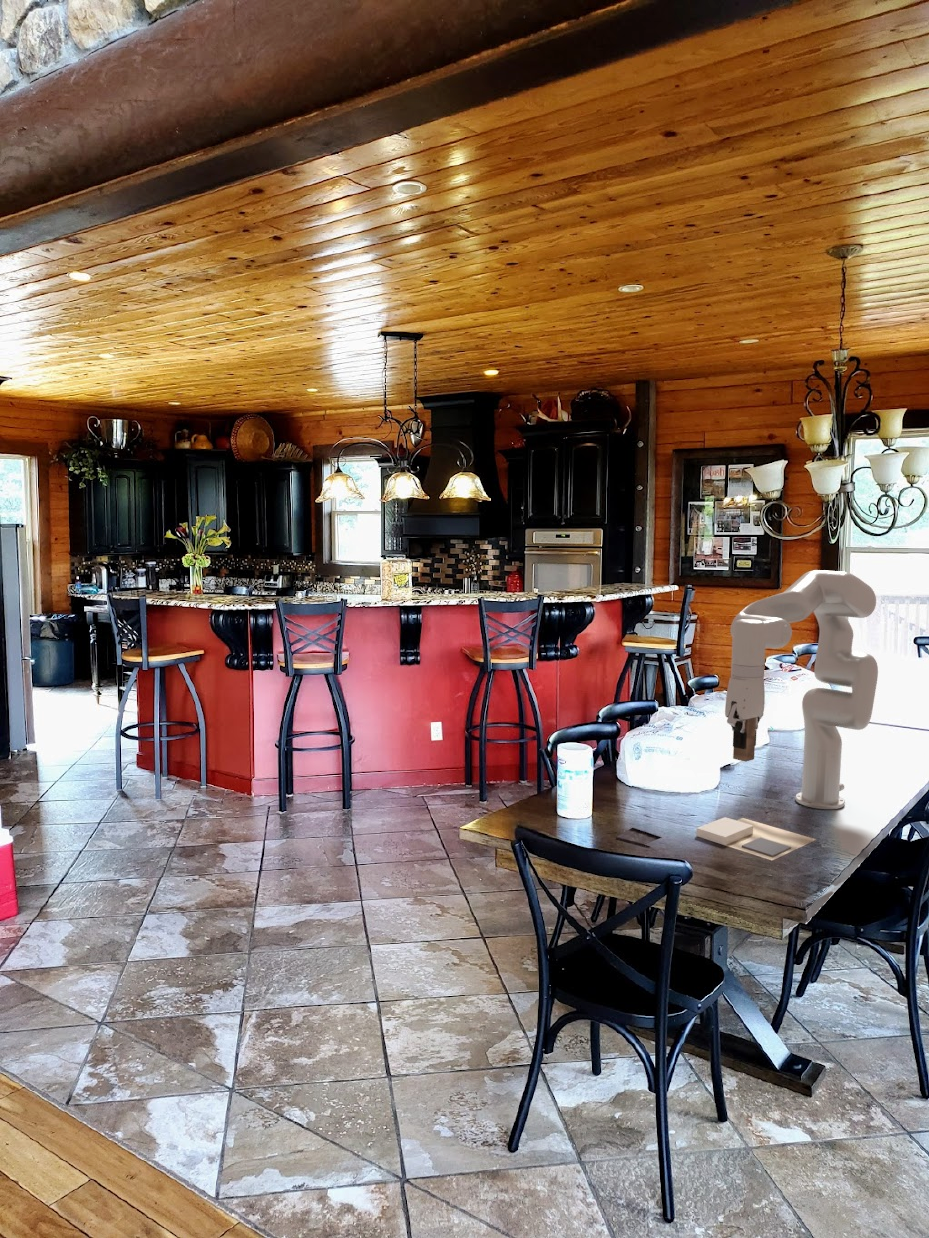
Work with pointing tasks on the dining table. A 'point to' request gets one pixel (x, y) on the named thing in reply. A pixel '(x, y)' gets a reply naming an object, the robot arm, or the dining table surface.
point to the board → (770, 838)
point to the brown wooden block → (747, 742)
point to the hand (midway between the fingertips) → (744, 745)
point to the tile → (724, 831)
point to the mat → (766, 847)
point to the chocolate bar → (637, 837)
